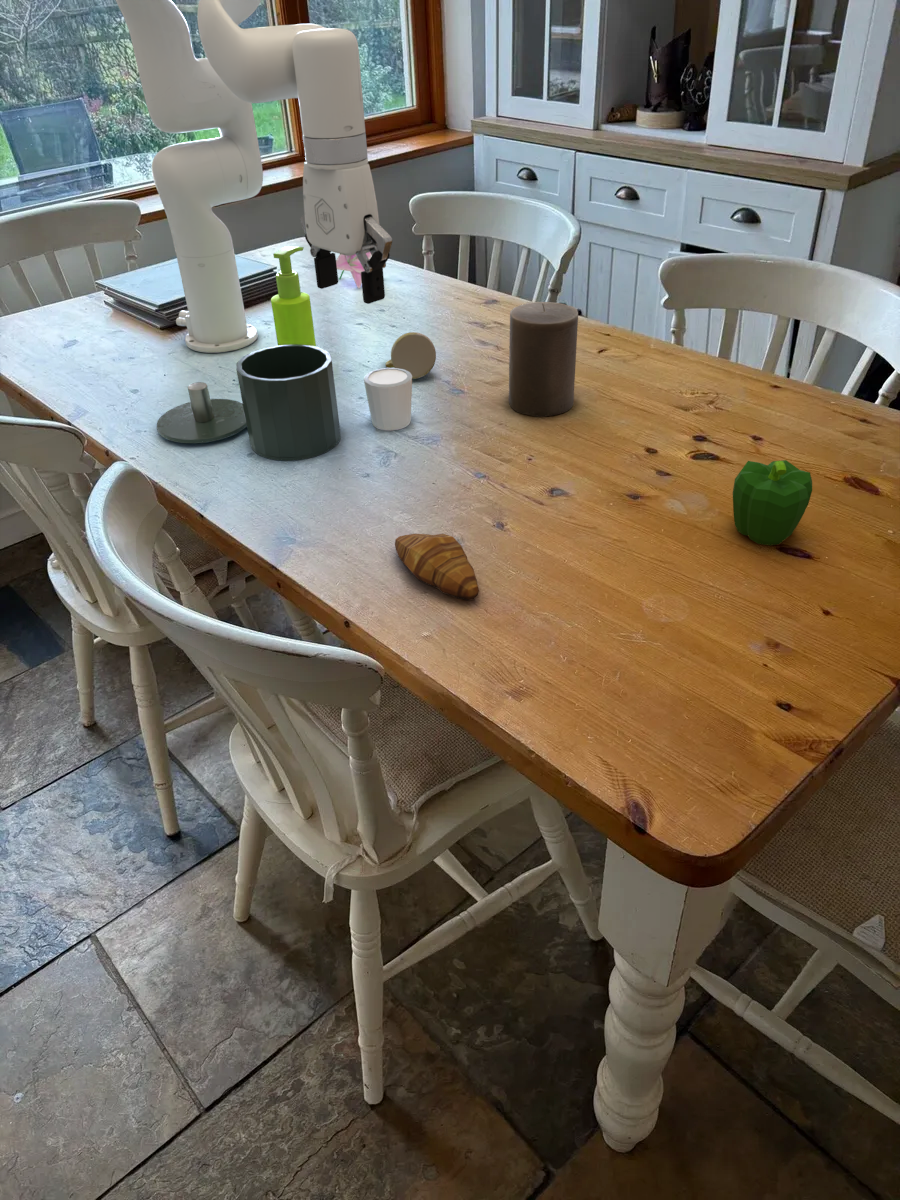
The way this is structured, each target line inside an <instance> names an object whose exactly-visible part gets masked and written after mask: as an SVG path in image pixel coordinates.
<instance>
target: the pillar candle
mask: <svg viewBox="0 0 900 1200" xmlns="http://www.w3.org/2000/svg"><path fill="white" fill-rule="evenodd" d="M578 327H579V311H578V308H576V307H575V306H572V305H568V304H565V303H561V302H553V301H551V302H550V301H530V302H526V303H523V304H520V305H517V306H515V307H513V308H512V309H511V310H510V311H509V345H508V346H509V347H508V348H509V350H508V351H509V355H508V404H509V406H510V408H511V409H512V410H514V411H515V412H517V413H520V414H522V415H528V416H531V417H538V418H543V417H552V416H557V415H560V414H564V413H566V412H568V411H569V410H571V409H572V408H573V406H574V401H575V381H576V367H577V366H576V364H577V363H576V361H577V345H578V344H577V343H578Z"/></svg>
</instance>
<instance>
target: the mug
mask: <svg viewBox="0 0 900 1200" xmlns="http://www.w3.org/2000/svg"><path fill="white" fill-rule="evenodd" d="M436 360H437V351H436V347H435V345H434V342H433V341H432V340H431V339H430V338H429V337H428V335H425V334H424V333H421V332H418V331H417V332H416V331H412V332H411V331H410V332H406V333H404V334H402V335H400V336H399V337H398V338H397V339H396V340H395V341H394V343H393V344H392V346H391V350H390V359H389V360H387V361H385V364H384V366H385V368H399V369H404V370H407V371H408V372H410V373H411V375H412V380H417V379H420V378H423V377H425V376H426V375H427V374H429V373H430V372H431V371H432V369H433V368H434V366H435V363H436Z"/></svg>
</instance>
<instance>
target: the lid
mask: <svg viewBox="0 0 900 1200" xmlns="http://www.w3.org/2000/svg"><path fill="white" fill-rule="evenodd" d="M186 388H187V393H188V397H189V402H186V403H182V404H180V405H177V406H174V407H172V408H171V409H169V410H167V411H166V412H164V413H163V414H162V415H160V416H159V418H158V420H157V421H156V429H157V432H158V434H159V435H160V436H161V437H162V438H164V439H165V440H167V441H170V442H175V443H179V444H203V443H210V442H216V441H220V440H224V439H226V438H227V439H228V438H230V437H231V436H234V435H236V434H238V433H240V432H242V431H243V430H245V429H247V424H246V419H245V413H244V408H243V403H242V401H237V400H235V399H234V400H233V399H228V398H211V396H210V391H209V386H208V383H206V382H202V381H198V382H193V383H190V384H189V385H188V386H187V387H186Z"/></svg>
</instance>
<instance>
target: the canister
mask: <svg viewBox="0 0 900 1200" xmlns="http://www.w3.org/2000/svg"><path fill="white" fill-rule="evenodd" d="M333 368H334V367H333V360H332V355H331V354H330V353H329V352H328V351H327V350H326V349H324V348H321V347H319V346H316V347H315V346H310V345H301V344H290V345H278V344H277V345H273V346H267V347H263V348H259V349H257V350H253V351H251V352H249V353H247V354H246V355H244V356H242V357H241V358H240V359H239V360H238V361H237V362H236V367H235V369H236V376H237V381H238V387H239V392H240V397H241V403H243V408H244V413H245V419H246V424H247V427H246V429H247V434H248V435H247V436H248V439H249V444H250V446H251V450H252V451H253V452H254V453H255V454H257V455H259V456H260V457H262V458H265V459H269V460H274V461H281V462H283V461H285V462H288V461H289V462H291V461H293V462H294V461H302V460H307V459H312V458H316V457H318V456H321V455H323V454H326V453H327V452H329V451H331V450H332V449H334V448H335V447H336V446H337V445H338V444H339V443H340V440H341V427H340V419H339V410H338V401H337V394H336V385H335V376H334V369H333Z"/></svg>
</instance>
